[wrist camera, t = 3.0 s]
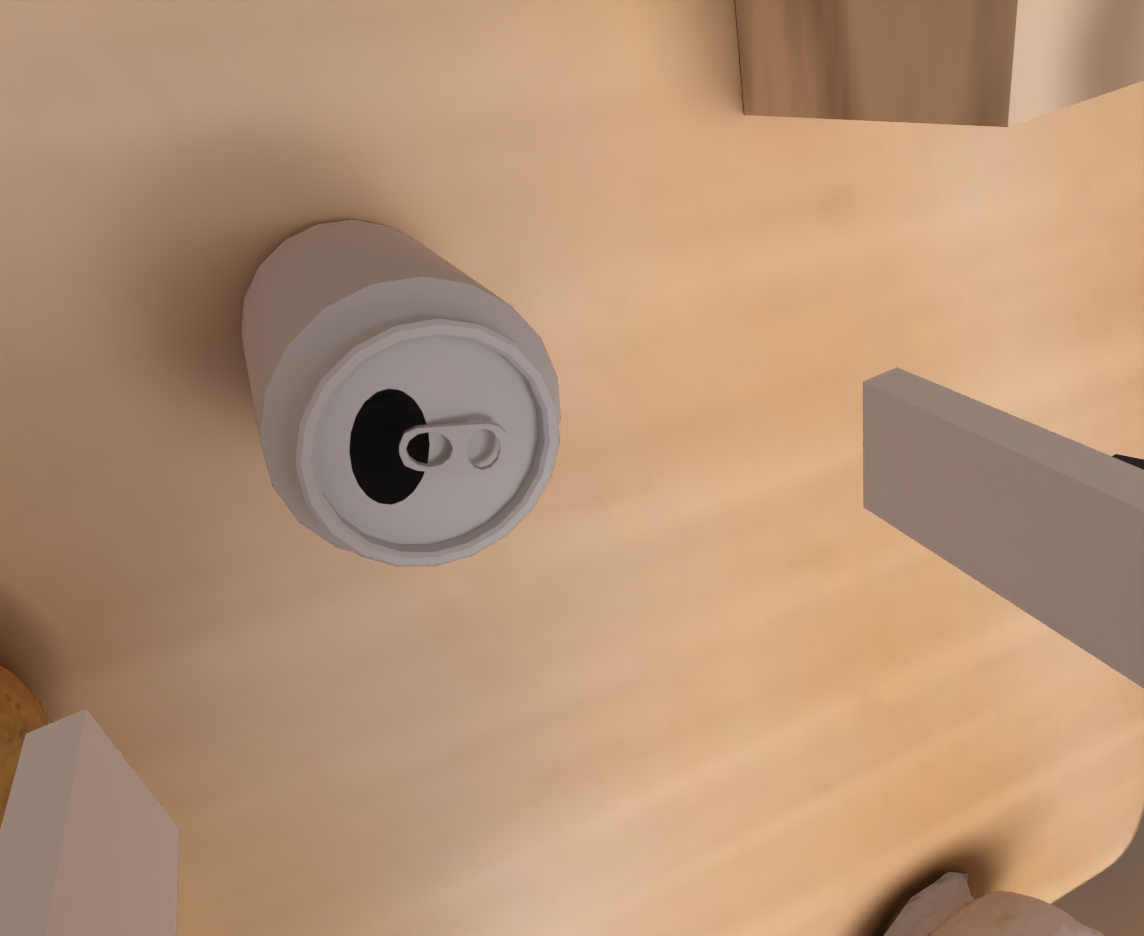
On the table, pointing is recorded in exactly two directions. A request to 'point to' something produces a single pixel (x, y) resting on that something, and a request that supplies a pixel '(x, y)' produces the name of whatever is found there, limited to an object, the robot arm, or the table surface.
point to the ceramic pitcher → (981, 914)
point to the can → (396, 396)
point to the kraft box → (935, 57)
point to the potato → (14, 728)
